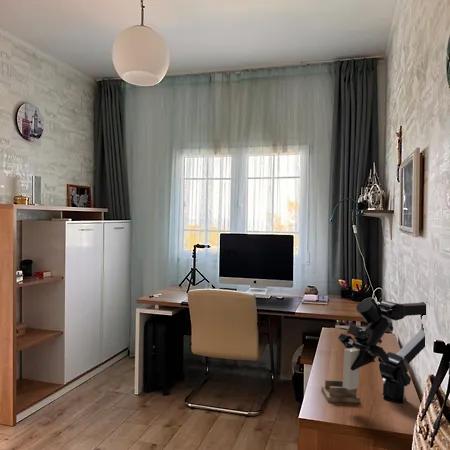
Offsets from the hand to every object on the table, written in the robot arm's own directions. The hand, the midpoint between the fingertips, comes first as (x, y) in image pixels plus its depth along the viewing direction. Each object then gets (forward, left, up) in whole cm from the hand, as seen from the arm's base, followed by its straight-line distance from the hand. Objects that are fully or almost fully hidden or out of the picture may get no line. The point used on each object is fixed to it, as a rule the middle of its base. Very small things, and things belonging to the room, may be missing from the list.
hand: (348, 367), depth 142 cm
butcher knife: (-6, -41, -14) cm, 44 cm away
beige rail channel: (+4, -8, -13) cm, 16 cm away
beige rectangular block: (-1, -1, -7) cm, 7 cm away
